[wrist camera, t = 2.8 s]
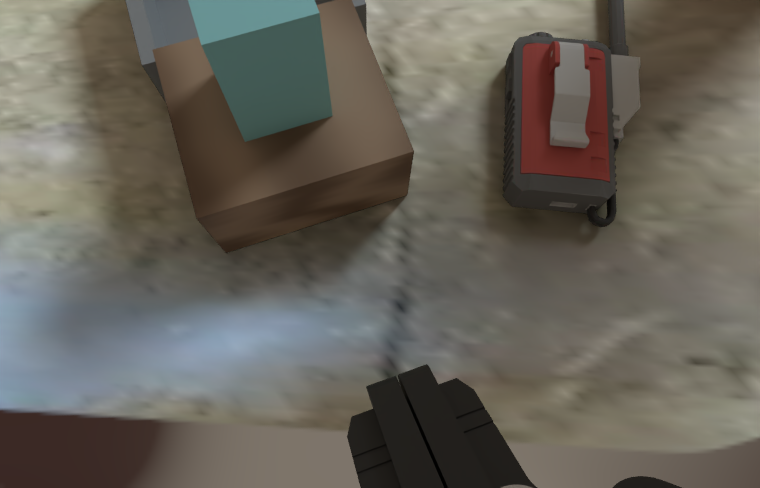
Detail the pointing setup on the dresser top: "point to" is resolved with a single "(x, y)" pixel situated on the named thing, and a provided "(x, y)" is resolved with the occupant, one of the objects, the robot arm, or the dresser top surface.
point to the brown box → (288, 142)
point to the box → (175, 27)
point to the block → (266, 61)
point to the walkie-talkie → (568, 119)
